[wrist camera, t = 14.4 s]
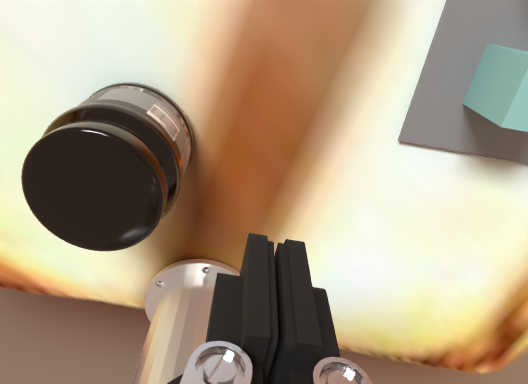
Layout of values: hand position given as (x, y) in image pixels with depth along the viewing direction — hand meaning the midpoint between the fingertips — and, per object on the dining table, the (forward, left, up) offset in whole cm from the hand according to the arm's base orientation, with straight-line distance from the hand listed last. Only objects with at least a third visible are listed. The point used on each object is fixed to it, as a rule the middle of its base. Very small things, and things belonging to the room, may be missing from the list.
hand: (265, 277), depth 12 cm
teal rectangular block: (+4, -21, -26) cm, 34 cm away
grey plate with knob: (+4, -21, -27) cm, 34 cm away
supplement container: (-7, +10, -27) cm, 30 cm away
